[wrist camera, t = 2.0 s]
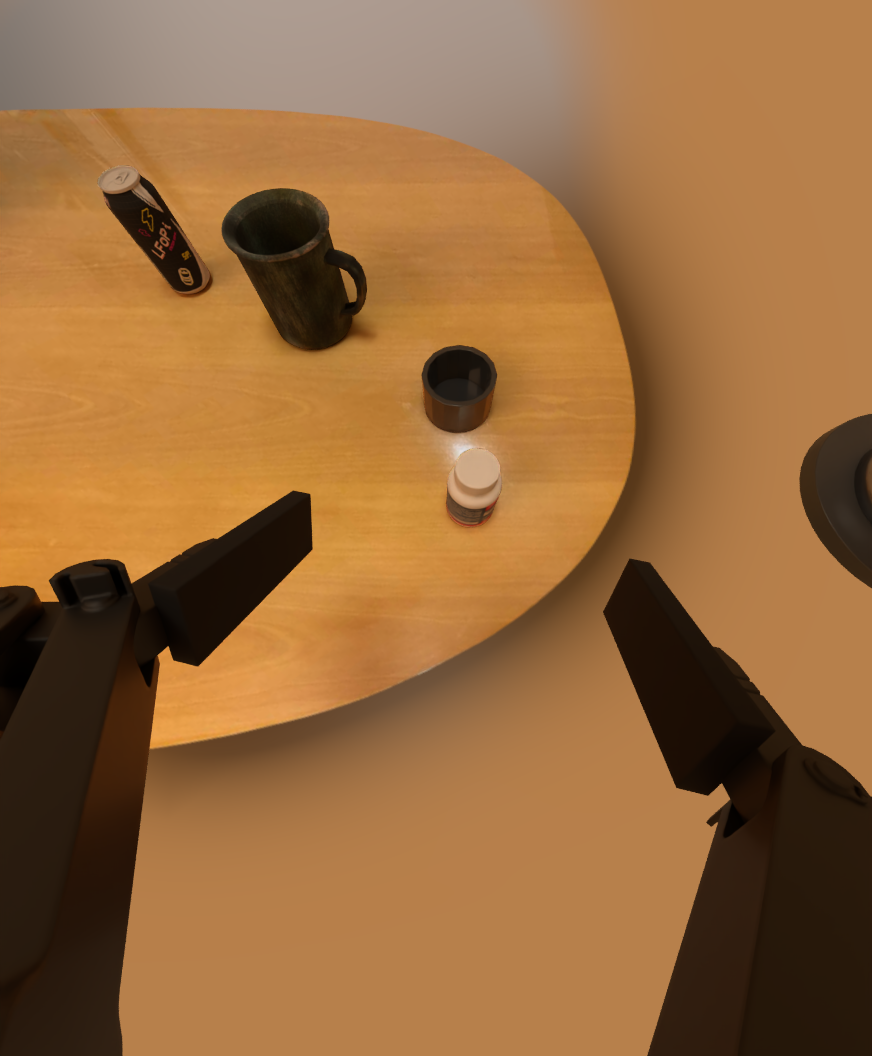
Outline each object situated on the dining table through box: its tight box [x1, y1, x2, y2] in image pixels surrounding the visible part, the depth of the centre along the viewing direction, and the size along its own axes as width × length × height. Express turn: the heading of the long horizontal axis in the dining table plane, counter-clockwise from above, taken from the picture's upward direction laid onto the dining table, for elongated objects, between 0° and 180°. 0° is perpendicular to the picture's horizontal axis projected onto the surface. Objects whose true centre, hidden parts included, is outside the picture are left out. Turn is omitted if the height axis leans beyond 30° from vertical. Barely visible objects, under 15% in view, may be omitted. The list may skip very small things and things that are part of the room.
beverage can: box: [98, 165, 210, 294], centre depth 43 cm, size 6×6×12 cm
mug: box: [222, 188, 367, 349], centre depth 40 cm, size 11×15×12 cm
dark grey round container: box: [422, 345, 497, 433], centre depth 39 cm, size 8×8×5 cm
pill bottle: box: [446, 448, 502, 527], centre depth 33 cm, size 5×5×9 cm
